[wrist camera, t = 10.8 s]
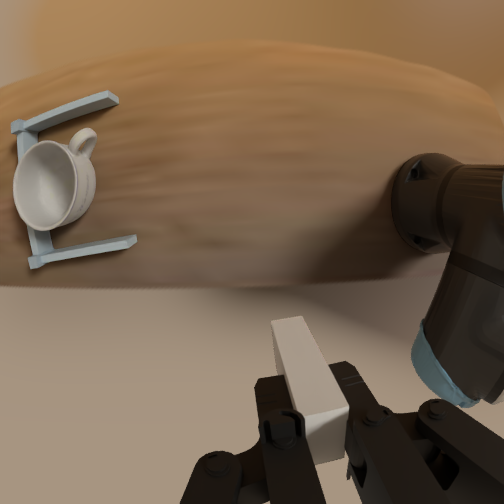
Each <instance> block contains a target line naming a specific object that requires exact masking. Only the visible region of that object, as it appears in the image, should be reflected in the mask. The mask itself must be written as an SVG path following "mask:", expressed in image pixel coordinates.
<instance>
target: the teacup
mask: <svg viewBox="0 0 504 504" xmlns="http://www.w3.org/2000/svg"><path fill="white" fill-rule="evenodd" d="M84 141H86V143H85V145H84V147H83V149H82V150H81V151H80V150H78V149H79V147H80V145H81V144H82V143H83V142H84ZM96 141H97V135H96V133H95V132H94V131H93V130H92V129H91V128H84V129H82V130H80V131H78V132H77V133H76V134H75V135H74V136H73V138H72V139H71V141H70V143H69V146H68V145H64V144H60V143H57V142H54V141H49V140H48V141H41V142H38V143H36V144H35V145H33V146H32V147H31V148H29V149H28V150H27V151H26V152H25V153H24V155H23V156H22V158H21V159H20V161H19V163H18V166H17V168H16V171H15V175H14V181H13V196H14V202H15V205H16V208H17V211H18V213H19V215H20V217H21V218H22V219H23V221H24V222H25V223H26V224H27V225H28V226H30V227H31V228H33V229H35V230H39V231H47V230H52V229H54V228H56V227H59V226H63V225H66V224H68V223H71V222H73V221H75V220H77V219H78V218H79V217H81V216H82V215H83V214H84V213H85V212H86V210H87V209H88V208H89V206H90V204H91V202H92V200H93V197H94V193H95V188H96V176H95V171H94V168H93V165H92V163H91V161H90V157H91V153H92V151H93V149H94V147H95V144H96Z"/></svg>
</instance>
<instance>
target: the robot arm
mask: <svg viewBox="0 0 504 504" xmlns="http://www.w3.org/2000/svg"><path fill="white" fill-rule="evenodd" d="M391 206H392V215H393V219H394V223H395V225H396V228H397V230H398V232H399V234H400V235H401V237H402V238H403V239H404V240H405V241H406V242H407V243H408V244H409V245H410V246H412V247H414V248H416V249H418V250H420V251H423V252H426V253H431V254H437V253H445V252H450V255H449V258H448V261H447V263H446V266H445V269H444V271H443V274H442V277H441V280H440V283H439V285H438V288H437V290H436V292H435V295H434V297H433V300H432V302H431V304H430V307H429V309H428V311H427V314H426V316H425V318H424V319H422V321H421V323H420V330H419V332H418V334H417V337H416V339H415V341H414V344H413V346H412V349H411V360H412V363H413V366H414V368H415V370H416V373H417V374H418V376H419V377H420V378H421V380H422V381H423V382H424V383H425V384H426V385H427V386H428V388H429V389H431V390H432V391H433V392H434V393H435V394H436V395H438V396H439V397H440V398H442V399H430V400H428V401H426V402H424V403H423V404H422V405H421V406H420V407H419V410H418V412H411V413H398V414H397V413H393V412H392V411H391V410H390V409H389V408H387V407H385V406H382V405H379V404H378V402H377V401H376V399H375V397H374V396H373V394H372V393H371V391H370V390H369V388H368V386H367V385H366V383H365V382H364V380H363V379H362V377H361V376H360V374H359V373H358V371H357V370H356V368H355V366H353V365H351V364H350V363H348V362H346V361H343V362H338V363H334V364H330V365H328V364H327V362H326V360H325V358H324V356H323V355H322V353H321V351H320V349H319V347H318V345H317V343H316V341H315V340H314V337H313V336H312V334H311V332H310V330H309V328H308V326H307V324H306V322H305V320H304V319H303V317H302V316H297V317H291V318H285V319H279V320H273V321H271V328H272V336H273V344H274V352H275V361H276V368H277V372H278V376H271V377H265V378H259V379H258V381H257V383H256V385H255V387H254V389H255V396H256V403H257V411H258V418H259V426H258V428H259V433H260V438H259V441H258V442H257V443H256V445H254V446H253V447H252V448H251V449H249V450H247V451H245V452H242V453H240V454H237V455H233V454H232V453H229V452H225V451H214V452H211V453H208V454H205V455H204V456H202V457H201V458H200V459H199V460H198V462H197V463H196V465H195V467H194V470H193V472H192V474H191V477H190V479H189V482H188V485H187V487H186V489H185V492H184V494H183V497H182V499H181V501H180V504H263V503H266V502H268V501H270V504H326V501H325V497H324V494H323V491H322V488H321V484H320V481H319V478H318V475H317V471H316V468H315V465H317V464H321V463H325V462H330V461H334V460H338V459H341V458H344V455H345V450H346V453H347V455H348V457H349V462H348V469H347V480H349V479H350V476H352V479H353V481H354V483H355V486H356V489H357V491H358V494H359V496H360V499H361V501H362V504H504V439H503V438H501V437H500V436H498V435H497V434H495V433H494V432H492V431H491V430H489V429H488V428H487V427H485V426H484V425H482V424H481V423H479V422H478V421H476V420H475V419H473V418H472V417H471V416H469V415H468V414H466V413H465V412H463V411H462V410H460V409H459V408H458V407H456V405H459V406H460V407H461V408H470V407H472V406H474V405H475V404H477V403H479V401H480V399H483V400H485V401H486V402H488V403H490V404H492V405H495V404H497V403H500V402H503V401H504V165H464V164H462V163H461V162H459V161H457V160H455V159H452V158H450V157H448V156H446V155H444V154H439V153H424V154H419V155H417V156H415V157H413V158H411V159H410V160H408V161H407V162H406V163H405V164H404V166H403V167H402V168H401V170H400V171H399V173H398V175H397V177H396V180H395V182H394V186H393V190H392V199H391Z"/></svg>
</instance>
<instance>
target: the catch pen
mask: <svg viewBox="0 0 504 504" xmlns="http://www.w3.org/2000/svg"><path fill="white" fill-rule="evenodd" d="M118 104H119V99H118V97H117V96H115V95H114V94H113V93H111V92H110V91H108V90H106V91H103V92H100V93H97V94H94V95H91V96H88V97H85V98H82V99H79V100H76V101H74V102H71V103H68V104H65V105H63V106H60V107H58V108H55V109H53V110H50V111H48V112H45V113H43V114H41V115H38V116H36V117H34V118H32V119H29V120H27V121H25V120H21V119H18V120H16V121H14V122H12V123H11V134H17V148H18V163H19V161H20V159H21V158H22V156H23V155H24V153H25V152H26V151H27V150H28V149H29V148H31V147H32V146H33V145H35V144H36V143H38V134H39V131H41V130H44V129H46V128H49V127H51V126H54V125H57V124H59V123H62V122H65V121H67V120H70V119H73V118H76V117H79V116H82V115H85V114H88V113H91V112H94V111H97V110H101V109H104V108H107V107H111V106H114V105H118ZM27 229H28V234H29V239H30V244H31V248H32V253H33V255H32V256H30V257H28V261H29V265H30V269H34V268H39V267H41V266H42V265H44V264H46V263H48V262H51V261H57V260H62V259H68V258H74V257H79V256H85V255H91V254H96V253H102V252H108V251H114V250H120V249H126V248H129V247H130V246H132V245H133V244H135V243H136V242H137V237H136V234H135V235H129V236H124V237H118V238H113V239H107V240H102V241H96V242H91V243H86V244H81V245H75V246H70V247H65V248H60V249H55V250H54V248H53V245H52V241H51V236H50V231H49V230H47V231H39V230H35V229H33V228H31V227H30V226H28V225H27Z"/></svg>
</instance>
